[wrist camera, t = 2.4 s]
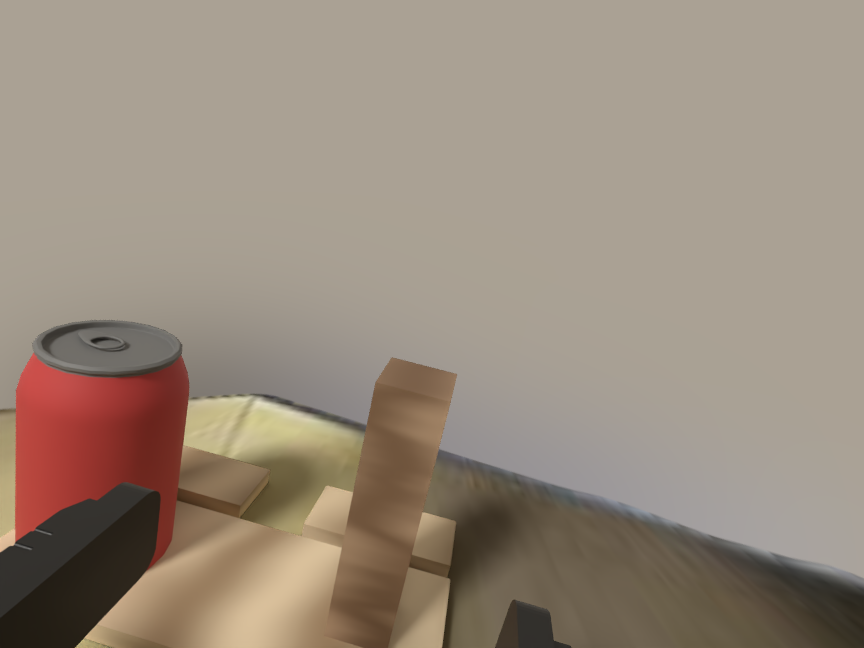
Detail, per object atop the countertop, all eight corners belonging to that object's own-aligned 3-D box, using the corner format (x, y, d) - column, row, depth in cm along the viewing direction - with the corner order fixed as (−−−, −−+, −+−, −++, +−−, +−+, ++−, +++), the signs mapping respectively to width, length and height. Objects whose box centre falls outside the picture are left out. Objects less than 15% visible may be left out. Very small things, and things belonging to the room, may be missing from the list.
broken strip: (452, 533, 33) (456, 521, 32) (446, 579, 29) (450, 565, 28) (146, 447, 34) (147, 435, 34) (101, 479, 30) (102, 465, 30)
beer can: (113, 497, 29) (127, 307, 26) (198, 546, 27) (225, 349, 24) (-20, 568, 23) (-24, 332, 20) (79, 638, 21) (92, 391, 18)
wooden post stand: (446, 592, 28) (510, 369, 24) (426, 745, 20) (516, 451, 16) (90, 489, 29) (96, 262, 25) (-55, 594, 22) (-79, 292, 18)
